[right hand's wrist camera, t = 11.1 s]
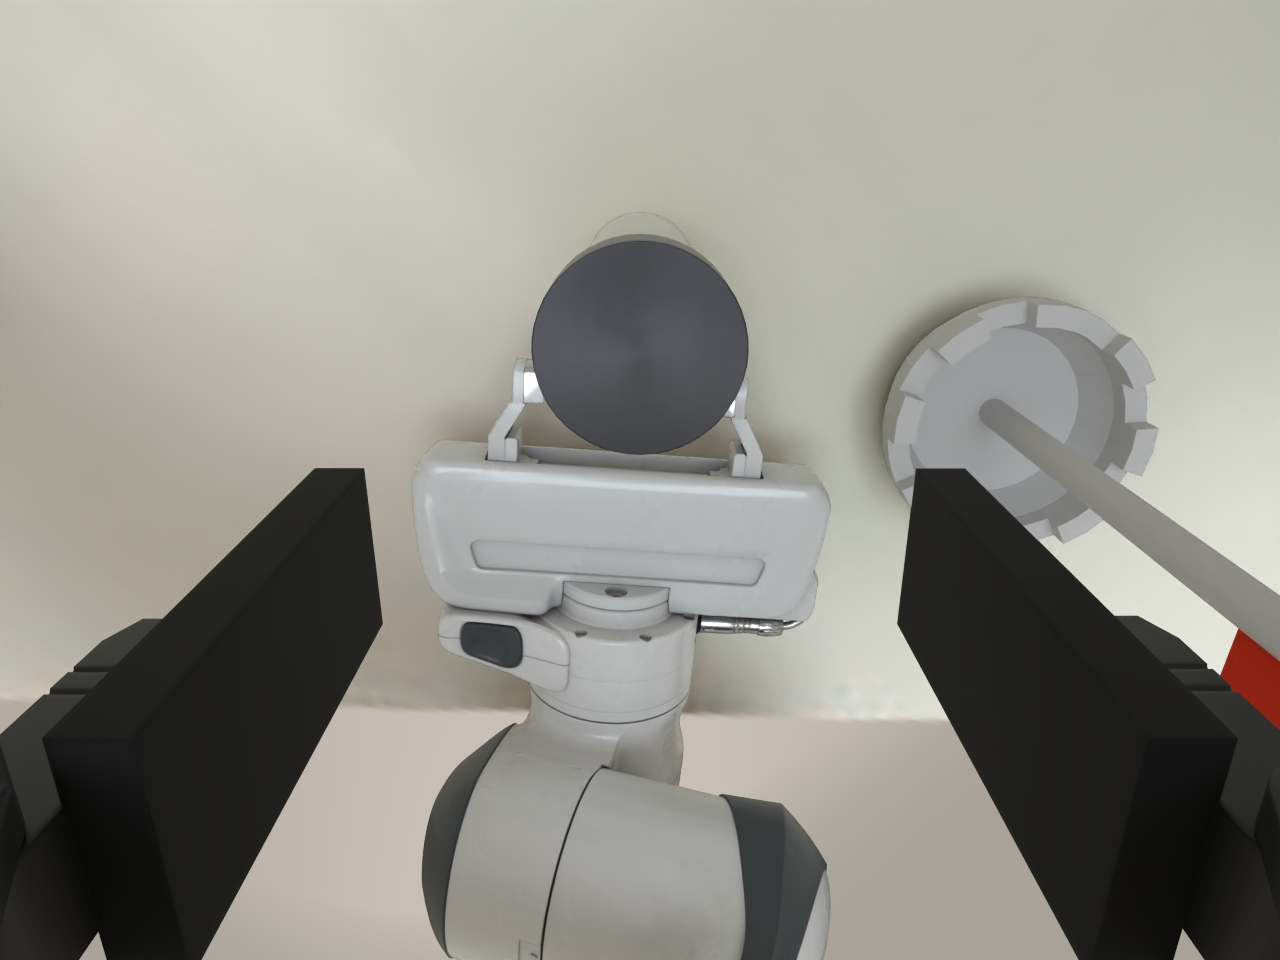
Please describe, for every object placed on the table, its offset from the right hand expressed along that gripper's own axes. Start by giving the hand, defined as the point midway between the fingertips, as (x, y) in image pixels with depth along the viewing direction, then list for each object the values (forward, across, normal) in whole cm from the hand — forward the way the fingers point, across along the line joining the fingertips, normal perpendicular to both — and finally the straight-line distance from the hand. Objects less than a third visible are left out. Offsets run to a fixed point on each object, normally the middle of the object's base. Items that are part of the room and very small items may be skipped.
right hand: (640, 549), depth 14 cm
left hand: (+28, 0, +4) cm, 28 cm away
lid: (+14, 0, 0) cm, 14 cm away
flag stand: (+34, -19, +8) cm, 40 cm away
